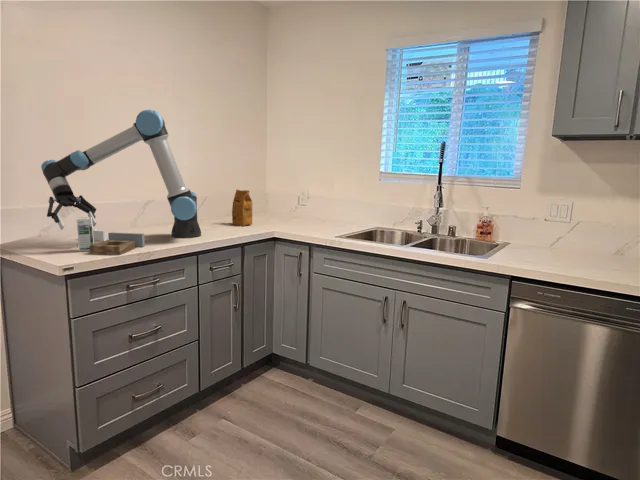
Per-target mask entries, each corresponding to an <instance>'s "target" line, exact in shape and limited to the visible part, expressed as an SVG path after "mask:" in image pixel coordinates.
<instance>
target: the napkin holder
mask: <svg viewBox="0 0 640 480" xmlns="http://www.w3.org/2000/svg"><path fill="white" fill-rule="evenodd" d="M107 235H108V233H107V230H103V229H101V230H100V229H96V228H93V237H94V242H95V241H98V242H103V241H106V240H108V236H107Z"/></svg>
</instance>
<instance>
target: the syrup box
mask: <svg viewBox="0 0 640 480" xmlns="http://www.w3.org/2000/svg"><path fill="white" fill-rule="evenodd" d="M76 227H77V228H76V229H77V238H78V241H77V242H78V252H79V253H82V252H83V253H84V252H90V245H94V244H95V240H94V237H93V229H94V226H93V223H92V217H88V216H86V217H83V216H82V217H77V218H76Z"/></svg>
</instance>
